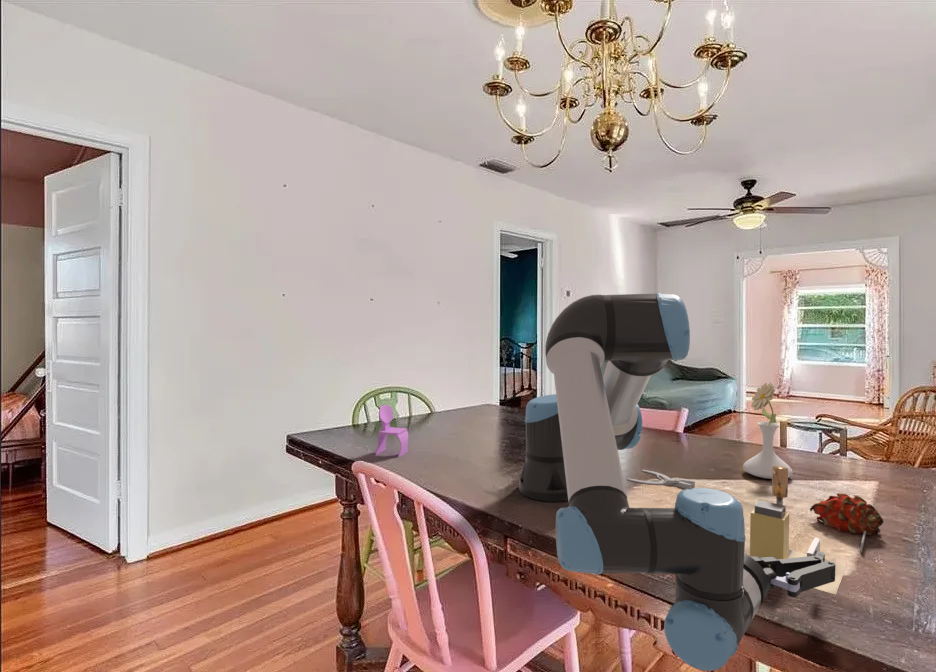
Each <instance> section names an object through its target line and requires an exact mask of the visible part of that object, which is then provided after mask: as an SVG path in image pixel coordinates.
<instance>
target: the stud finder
mask: <svg viewBox="0 0 936 672" xmlns="http://www.w3.org/2000/svg"><path fill="white" fill-rule="evenodd" d="M786 507H787V506H786V505H784V504H783V505H779V504H776V503H773V502H768V501H765V500H759V501H758V502H757V503H756V504H755V505H754V507H753V509H752V510H751V512H750V517H749V518H750V526H749V527H750V528H749V529H750V531H749V540H750V556H753V557H755V556H757V557H759V558H762V557H774V558H776V559H786V558H788V554H789V550H790V549H789V545H790V543H789V541H790V512H786V511H787V510H786V509H787V508H786ZM769 566H770V565H769Z"/></svg>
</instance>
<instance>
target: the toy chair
mask: <svg viewBox="0 0 936 672" xmlns="http://www.w3.org/2000/svg"><path fill="white" fill-rule="evenodd" d="M378 418H379V420H380V423H381V427H382V430H380V431H378V435H377V446H376V451H375V453H374V455H375V456H377V455H378V454H380V453H382V452H384V451H386V448H387V447H386V445H387V443H386V442H387V438H388V436H392V437H393V436H394V437H396V438H397V439H398V441H399V443H400V448H399V452H398V455H397V458H400V457H402V456H404V455H405V454H407V453H408V452H409V432H408V428H406V427H393V426H391V425H390V423H391V421H392V420H394V409H393V408H392V406H391V405H388V404H384V405H381V406H380V408H379V410H378Z"/></svg>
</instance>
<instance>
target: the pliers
mask: <svg viewBox="0 0 936 672" xmlns="http://www.w3.org/2000/svg"><path fill="white" fill-rule="evenodd" d="M641 472H642V473H643V472H644V473H646V474H647V473H648V474H651V475H655V476H656V478H657V479H649V480H641V479H640V480H639V479H635V478H629V477H628V478H627V481H629V482H634V483H636V484H637V483H639V484H645V485H656V486H659V485H661V486H663V485H666V486H674V487H677V488H683V489H684V490H685V489H691V488H696V487H695V486H696V480H691V479H687V478H681V477H669V476H668V475H665V474H663V473H660V472H657V471H652V470H647V469H642V470H641Z"/></svg>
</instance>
